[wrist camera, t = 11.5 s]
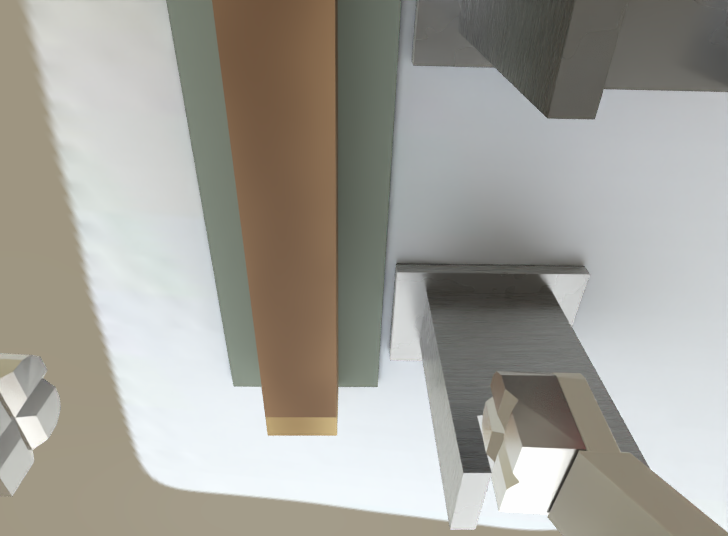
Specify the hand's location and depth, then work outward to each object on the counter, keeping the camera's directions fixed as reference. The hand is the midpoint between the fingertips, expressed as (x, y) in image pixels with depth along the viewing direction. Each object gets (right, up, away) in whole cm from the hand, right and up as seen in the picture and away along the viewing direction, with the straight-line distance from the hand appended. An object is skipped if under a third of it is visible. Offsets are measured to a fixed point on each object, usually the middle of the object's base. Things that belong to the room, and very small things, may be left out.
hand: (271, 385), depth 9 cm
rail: (-1, +5, +9) cm, 10 cm away
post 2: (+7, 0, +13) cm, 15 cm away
